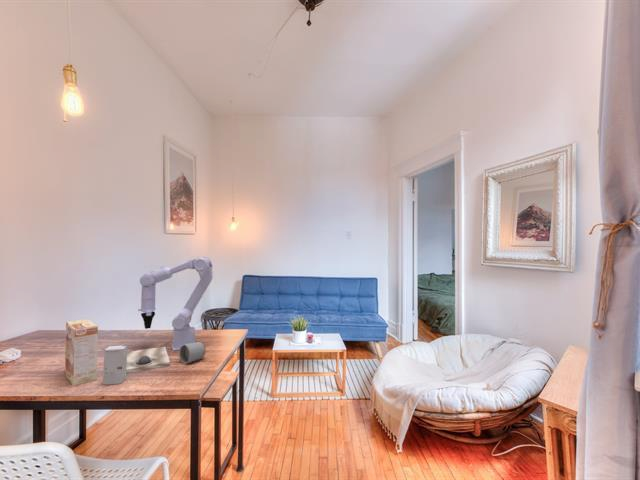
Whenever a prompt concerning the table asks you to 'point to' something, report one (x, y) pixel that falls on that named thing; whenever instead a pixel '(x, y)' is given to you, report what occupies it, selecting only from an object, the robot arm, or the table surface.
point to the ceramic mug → (192, 352)
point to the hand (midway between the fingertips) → (147, 328)
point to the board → (155, 354)
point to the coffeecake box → (81, 351)
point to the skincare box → (115, 364)
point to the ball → (144, 360)
